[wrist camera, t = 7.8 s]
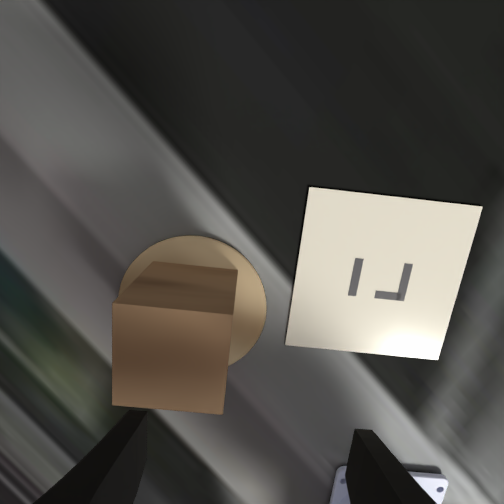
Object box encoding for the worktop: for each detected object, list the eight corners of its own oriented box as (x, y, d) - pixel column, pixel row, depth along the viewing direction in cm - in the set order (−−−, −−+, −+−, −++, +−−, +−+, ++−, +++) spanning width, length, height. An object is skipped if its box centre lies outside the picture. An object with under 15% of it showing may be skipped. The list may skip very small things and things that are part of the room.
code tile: (437, 359, 22) (438, 360, 22) (285, 344, 22) (285, 345, 21) (481, 206, 19) (482, 206, 19) (309, 186, 19) (309, 187, 19)
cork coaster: (257, 375, 22) (257, 379, 22) (120, 362, 22) (117, 366, 21) (274, 244, 20) (275, 245, 19) (121, 227, 19) (118, 228, 19)
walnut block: (230, 345, 21) (222, 414, 15) (150, 337, 21) (112, 404, 15) (238, 269, 20) (233, 314, 14) (153, 261, 20) (112, 302, 14)
